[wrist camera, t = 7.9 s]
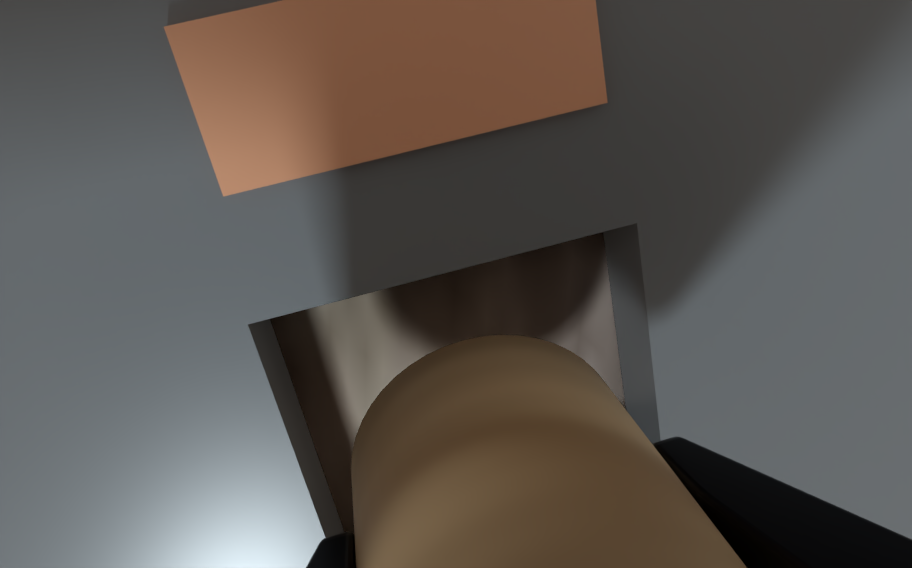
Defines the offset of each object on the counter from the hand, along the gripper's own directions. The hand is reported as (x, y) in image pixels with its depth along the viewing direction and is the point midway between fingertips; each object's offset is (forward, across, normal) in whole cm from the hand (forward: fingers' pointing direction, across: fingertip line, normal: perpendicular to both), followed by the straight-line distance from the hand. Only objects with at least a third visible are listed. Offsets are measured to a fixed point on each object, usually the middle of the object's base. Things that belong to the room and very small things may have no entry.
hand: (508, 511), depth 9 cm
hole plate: (+3, 0, 0) cm, 3 cm away
